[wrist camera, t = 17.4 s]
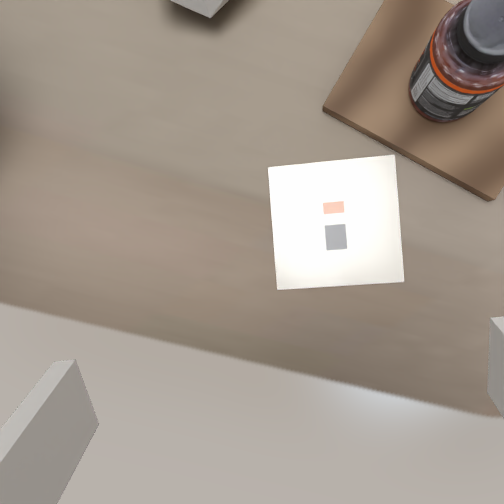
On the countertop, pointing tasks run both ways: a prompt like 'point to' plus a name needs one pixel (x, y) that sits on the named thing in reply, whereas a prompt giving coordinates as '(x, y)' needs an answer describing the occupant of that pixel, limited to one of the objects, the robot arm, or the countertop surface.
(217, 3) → the die
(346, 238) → the white tile
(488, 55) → the supplement bottle
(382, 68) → the walnut board
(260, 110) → the countertop surface
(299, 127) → the countertop surface
